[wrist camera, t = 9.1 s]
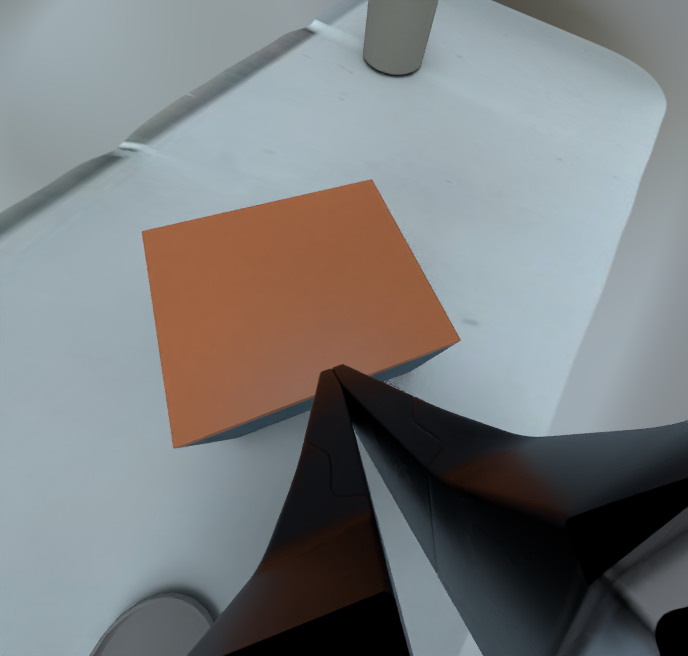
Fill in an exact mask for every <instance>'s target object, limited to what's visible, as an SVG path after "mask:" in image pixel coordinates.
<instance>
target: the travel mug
mask: <svg viewBox="0 0 688 656" xmlns="http://www.w3.org/2000/svg"><path fill="white" fill-rule="evenodd" d="M437 4H438V0H368V10H367V20H366V30H365V39H364V49H363V56H364V58H365V60H366V61H367V62H368V63H369V64H370V65H371V66H372V67H373V68H375V69H377V70H378V71H380V72H382V73H386V74H390V75H404V74H407V73H410V72H413V71H415V70H417V69H418V68H419V67H420V66H421V64H422V60H423V56H424V53H425V49H426V45H427V41H428V38H429V34H430V30H431V26H432V23H433V19H434V15H435V12H436V8H437Z"/></svg>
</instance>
